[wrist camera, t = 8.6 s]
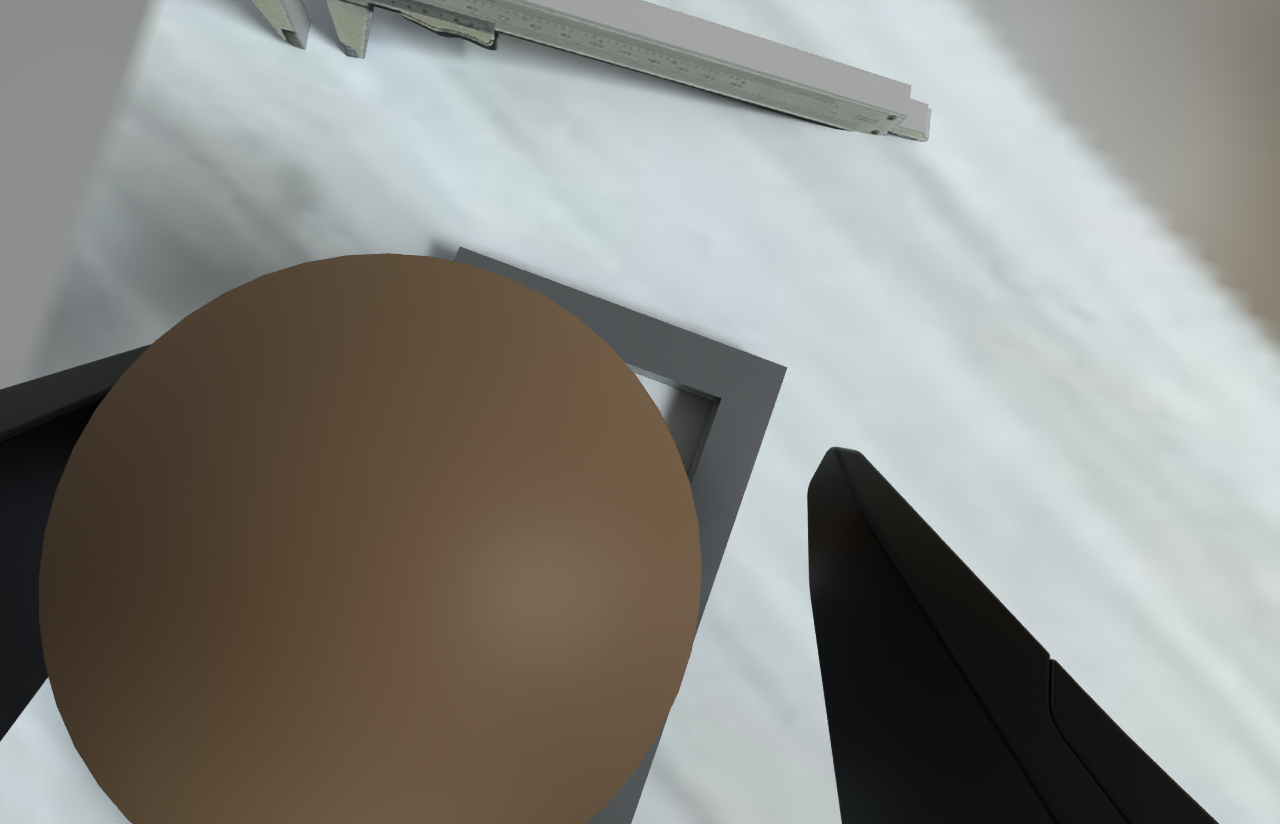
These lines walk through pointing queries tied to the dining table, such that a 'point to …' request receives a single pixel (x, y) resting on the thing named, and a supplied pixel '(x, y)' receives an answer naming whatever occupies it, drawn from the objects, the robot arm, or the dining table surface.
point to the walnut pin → (370, 559)
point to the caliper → (647, 53)
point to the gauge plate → (725, 445)
